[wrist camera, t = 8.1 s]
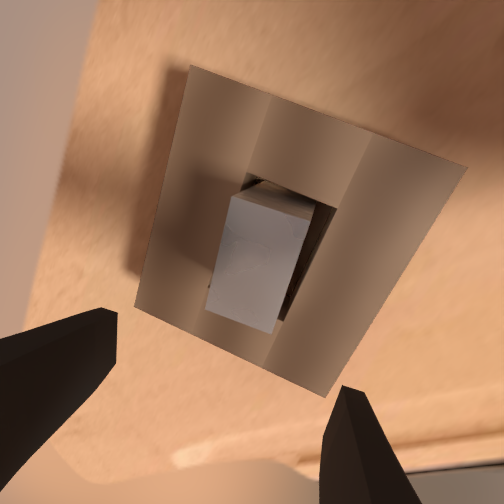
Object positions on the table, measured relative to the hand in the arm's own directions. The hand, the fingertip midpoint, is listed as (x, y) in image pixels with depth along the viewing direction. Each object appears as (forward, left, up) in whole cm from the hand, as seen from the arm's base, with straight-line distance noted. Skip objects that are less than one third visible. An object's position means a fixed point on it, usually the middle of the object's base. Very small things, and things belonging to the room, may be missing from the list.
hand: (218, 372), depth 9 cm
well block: (0, -2, -9) cm, 10 cm away
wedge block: (0, -2, -10) cm, 10 cm away
